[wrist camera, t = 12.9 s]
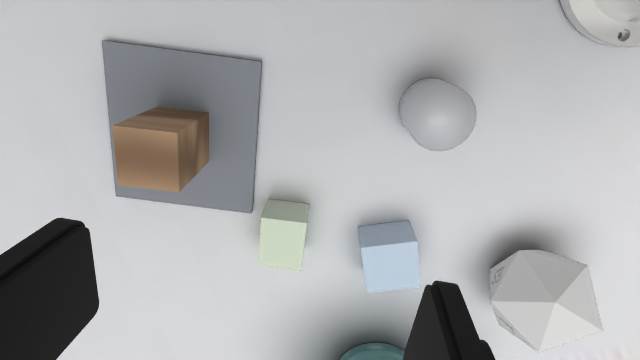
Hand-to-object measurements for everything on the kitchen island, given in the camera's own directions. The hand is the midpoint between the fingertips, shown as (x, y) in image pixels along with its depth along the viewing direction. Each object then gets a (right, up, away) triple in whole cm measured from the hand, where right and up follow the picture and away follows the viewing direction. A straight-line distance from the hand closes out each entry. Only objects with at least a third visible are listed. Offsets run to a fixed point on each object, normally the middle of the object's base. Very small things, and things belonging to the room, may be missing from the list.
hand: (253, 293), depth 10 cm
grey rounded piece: (+11, +9, +22) cm, 26 cm away
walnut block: (-10, +7, +22) cm, 26 cm away
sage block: (-1, -1, +26) cm, 26 cm away
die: (+22, -6, +27) cm, 36 cm away
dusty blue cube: (+8, -3, +27) cm, 28 cm away
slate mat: (-10, +7, +23) cm, 26 cm away
